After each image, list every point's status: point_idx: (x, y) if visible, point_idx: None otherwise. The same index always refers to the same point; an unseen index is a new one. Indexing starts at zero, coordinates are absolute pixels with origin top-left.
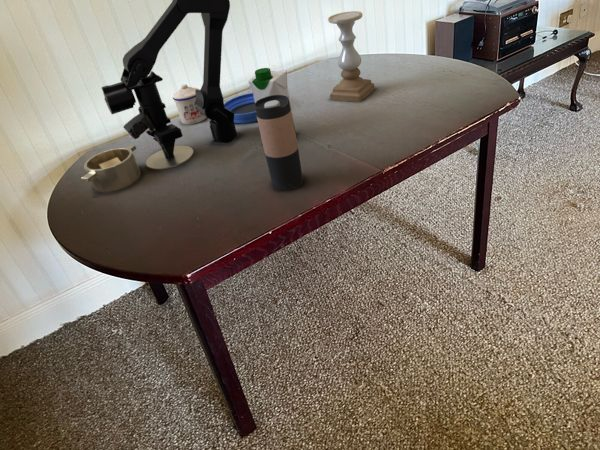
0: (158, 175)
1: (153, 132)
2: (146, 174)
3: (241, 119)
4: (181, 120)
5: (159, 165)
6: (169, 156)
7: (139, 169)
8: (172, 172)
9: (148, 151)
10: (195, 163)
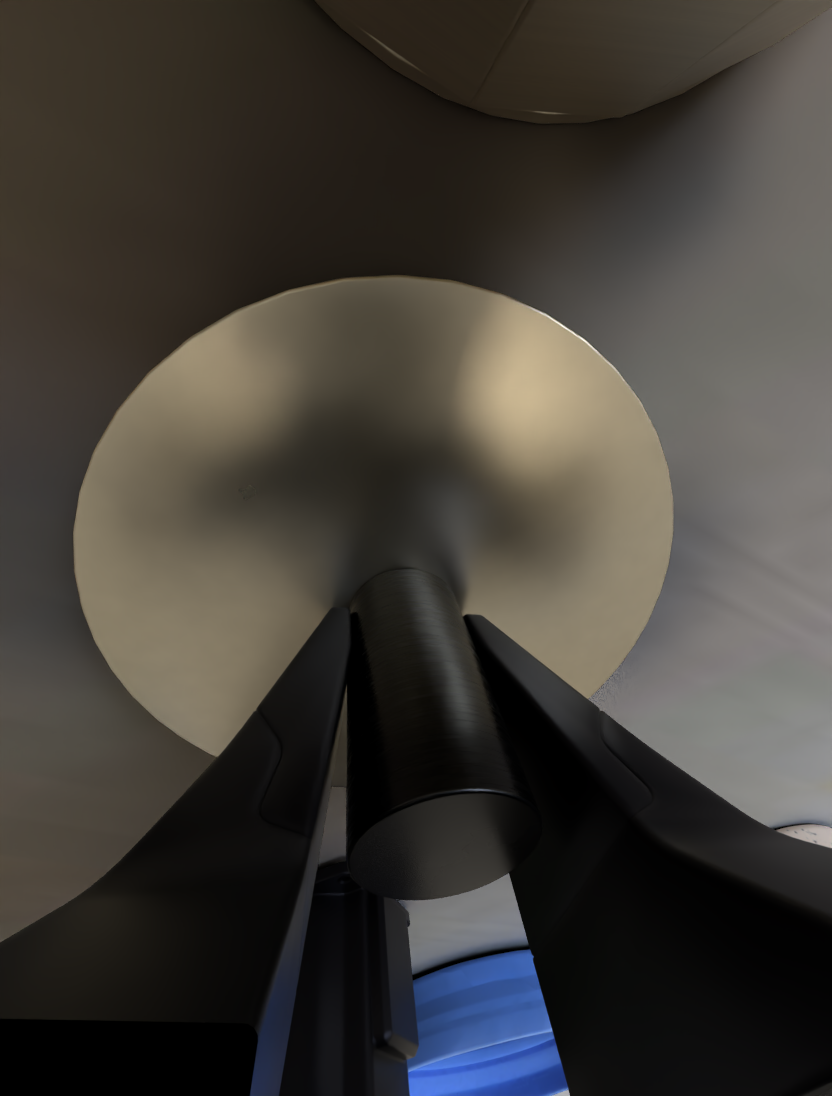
0: (83, 266)
1: (821, 1085)
2: (308, 144)
3: (421, 1009)
4: (828, 846)
5: (272, 419)
6: (326, 617)
7: (435, 35)
8: (24, 458)
9: (819, 531)
10: (77, 700)
